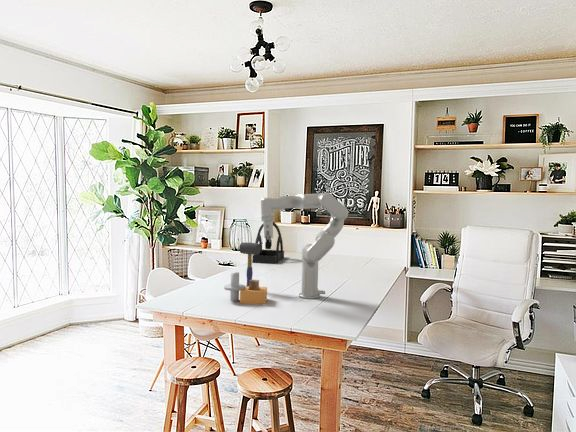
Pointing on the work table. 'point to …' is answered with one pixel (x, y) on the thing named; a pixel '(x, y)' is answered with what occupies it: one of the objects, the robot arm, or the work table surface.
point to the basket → (269, 255)
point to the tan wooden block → (254, 285)
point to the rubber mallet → (249, 256)
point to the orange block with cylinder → (245, 292)
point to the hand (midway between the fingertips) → (268, 247)
